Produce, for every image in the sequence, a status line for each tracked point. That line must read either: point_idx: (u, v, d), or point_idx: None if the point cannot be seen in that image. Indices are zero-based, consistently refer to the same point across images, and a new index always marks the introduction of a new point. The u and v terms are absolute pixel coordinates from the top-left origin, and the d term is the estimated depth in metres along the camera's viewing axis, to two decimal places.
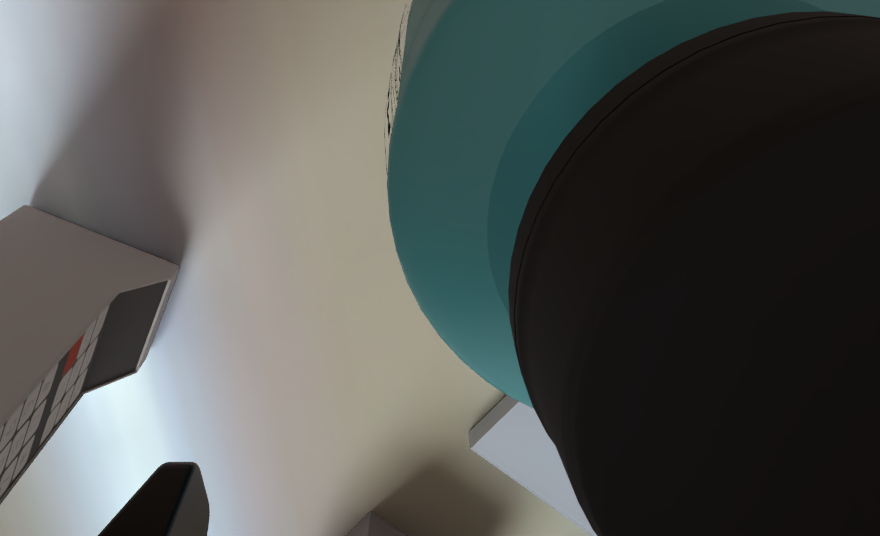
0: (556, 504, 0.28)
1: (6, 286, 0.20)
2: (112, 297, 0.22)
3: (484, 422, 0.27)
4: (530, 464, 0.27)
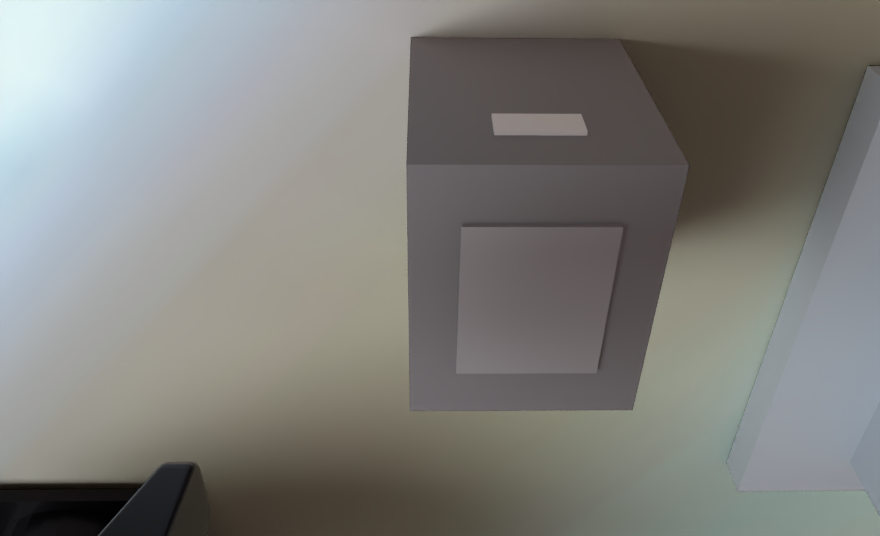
0: (835, 257, 0.17)
1: None
2: None
3: None
4: None
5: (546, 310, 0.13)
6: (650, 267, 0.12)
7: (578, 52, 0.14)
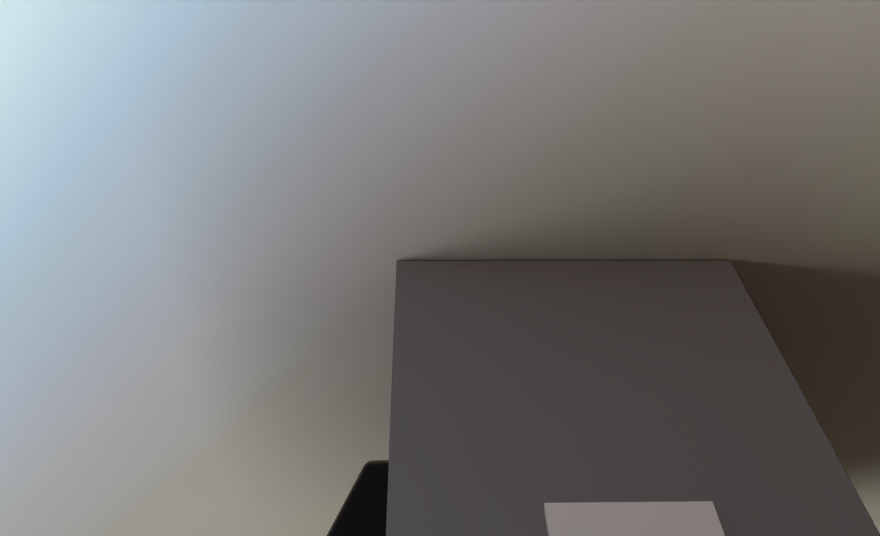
0: None
1: None
2: None
3: None
4: None
5: None
6: None
7: (673, 301, 0.09)
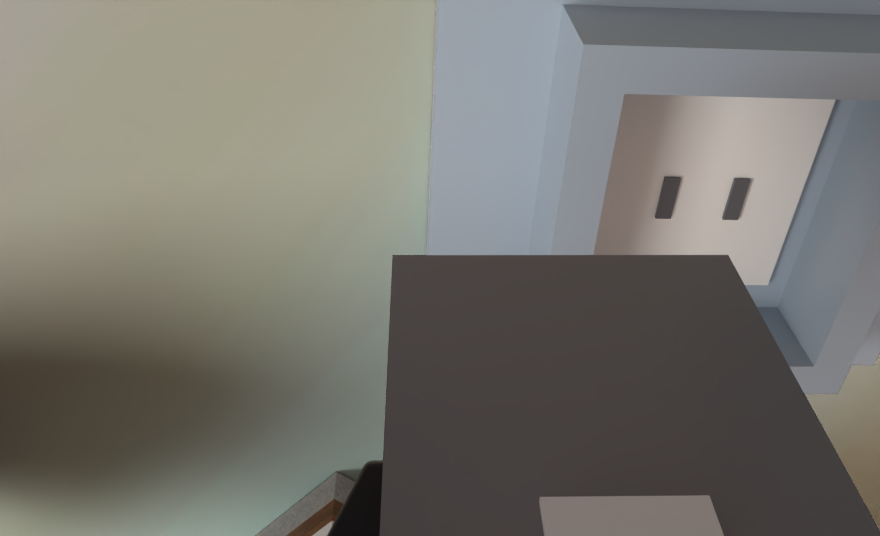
0: (441, 114, 0.19)
1: None
2: None
3: None
4: (474, 37, 0.18)
5: None
6: None
7: (670, 294, 0.09)
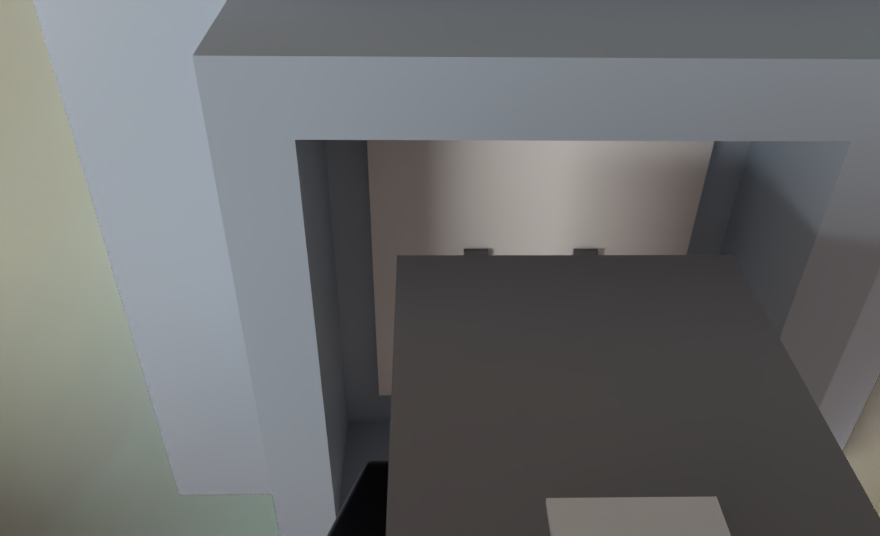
0: (93, 163, 0.12)
1: None
2: None
3: None
4: (107, 42, 0.11)
5: None
6: None
7: (675, 295, 0.09)
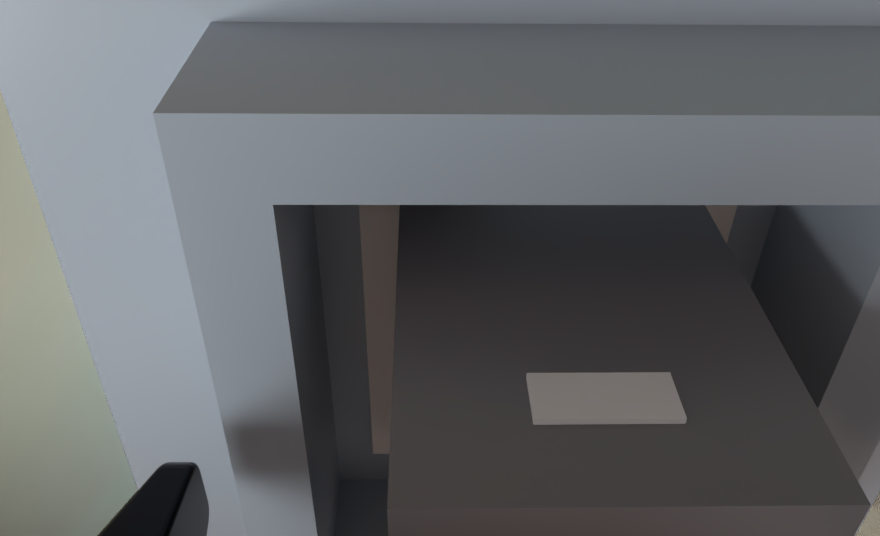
0: (56, 213, 0.11)
1: None
2: None
3: None
4: (67, 84, 0.10)
5: None
6: None
7: (644, 224, 0.10)
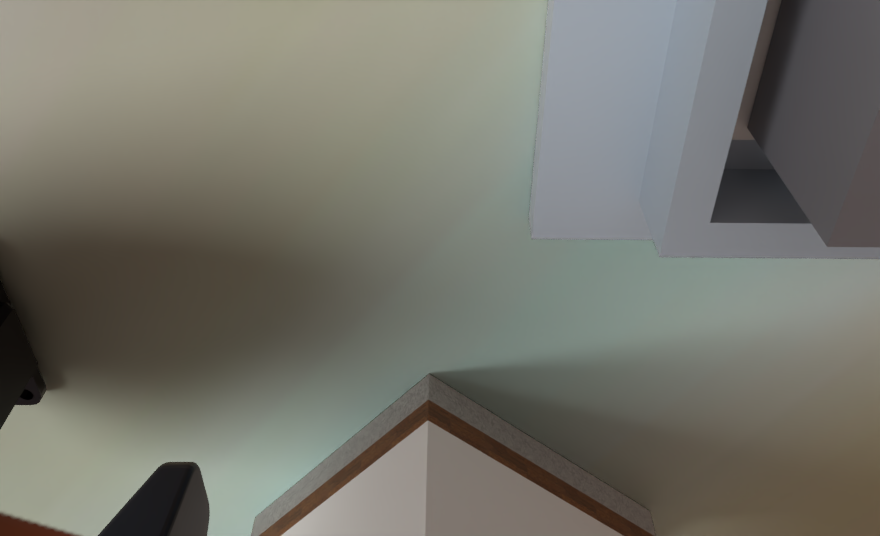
0: None
1: None
2: None
3: None
4: None
5: None
6: None
7: None
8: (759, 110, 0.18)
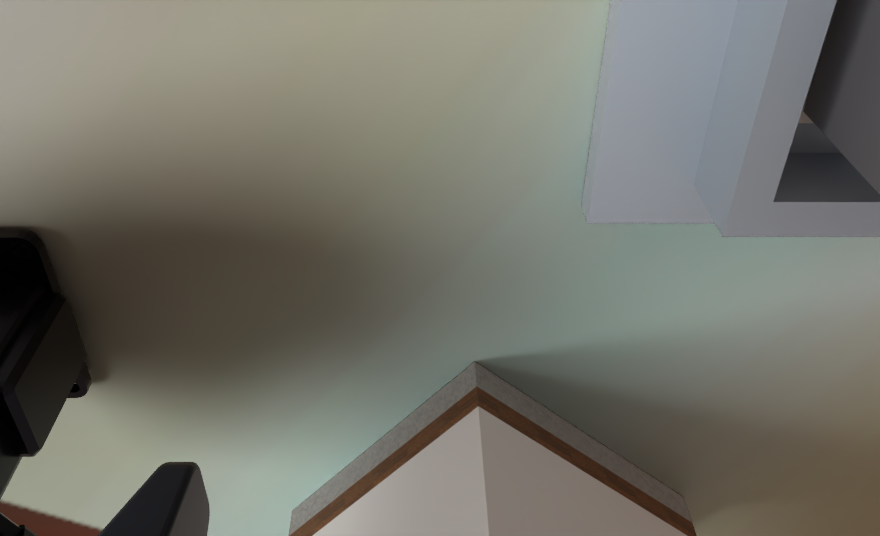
0: None
1: None
2: None
3: None
4: None
5: None
6: None
7: None
8: (818, 93, 0.19)
